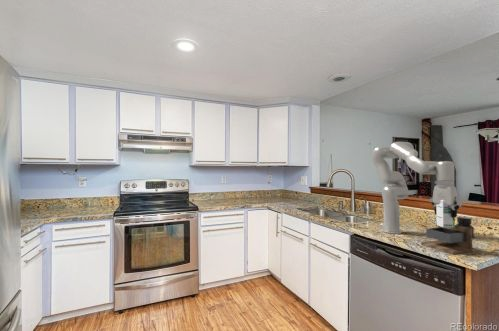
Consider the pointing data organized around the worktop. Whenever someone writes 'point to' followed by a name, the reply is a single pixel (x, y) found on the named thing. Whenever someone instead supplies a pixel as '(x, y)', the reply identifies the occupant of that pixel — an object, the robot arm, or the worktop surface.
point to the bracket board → (453, 247)
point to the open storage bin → (446, 234)
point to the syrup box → (444, 215)
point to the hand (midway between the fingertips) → (445, 215)
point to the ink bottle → (465, 223)
